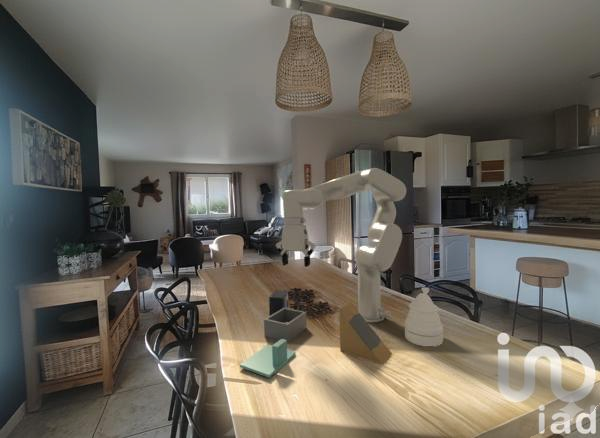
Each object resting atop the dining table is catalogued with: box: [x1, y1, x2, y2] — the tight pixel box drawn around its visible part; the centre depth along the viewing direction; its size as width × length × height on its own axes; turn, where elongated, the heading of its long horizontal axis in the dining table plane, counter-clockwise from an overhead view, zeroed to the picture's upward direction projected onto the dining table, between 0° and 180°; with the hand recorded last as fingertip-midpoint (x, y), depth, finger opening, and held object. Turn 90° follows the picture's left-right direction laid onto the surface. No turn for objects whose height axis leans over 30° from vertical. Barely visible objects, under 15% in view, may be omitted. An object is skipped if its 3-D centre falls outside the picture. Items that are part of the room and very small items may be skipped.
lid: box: [239, 339, 296, 379], centre depth 90 cm, size 11×14×8 cm
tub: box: [263, 308, 307, 343], centre depth 110 cm, size 11×14×7 cm
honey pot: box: [404, 287, 444, 347], centre depth 104 cm, size 13×13×18 cm
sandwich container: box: [338, 301, 393, 366], centre depth 95 cm, size 9×15×15 cm, turn 53°
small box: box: [268, 289, 289, 317], centre depth 128 cm, size 11×6×10 cm, turn 168°
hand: (296, 265), depth 111 cm, fingers open, 9 cm apart
